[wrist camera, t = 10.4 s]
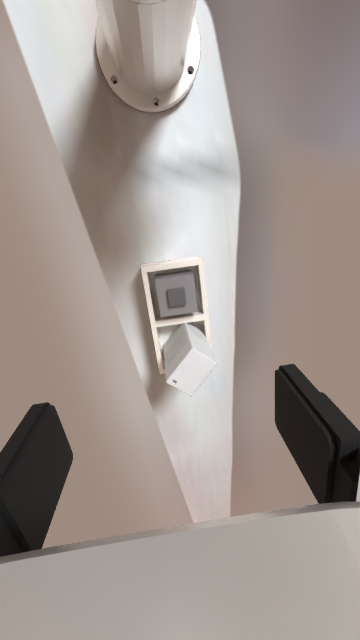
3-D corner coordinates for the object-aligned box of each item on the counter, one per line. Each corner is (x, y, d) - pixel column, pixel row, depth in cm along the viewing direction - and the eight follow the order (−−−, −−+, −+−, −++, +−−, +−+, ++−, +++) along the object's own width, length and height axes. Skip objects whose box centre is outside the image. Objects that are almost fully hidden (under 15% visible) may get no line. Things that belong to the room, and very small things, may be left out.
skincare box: (183, 356, 46) (190, 398, 35) (163, 344, 45) (163, 383, 34) (204, 329, 45) (218, 363, 34) (183, 316, 44) (191, 346, 33)
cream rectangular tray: (142, 264, 42) (140, 268, 38) (199, 256, 42) (203, 259, 38) (159, 362, 48) (159, 375, 44) (209, 355, 48) (214, 366, 44)
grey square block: (155, 274, 41) (154, 281, 37) (190, 269, 41) (194, 275, 37) (160, 308, 43) (160, 318, 38) (194, 303, 43) (198, 313, 39)
